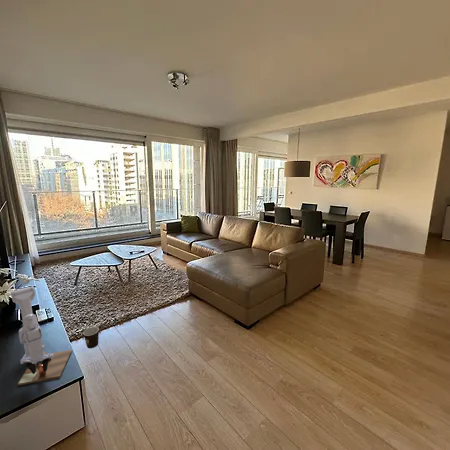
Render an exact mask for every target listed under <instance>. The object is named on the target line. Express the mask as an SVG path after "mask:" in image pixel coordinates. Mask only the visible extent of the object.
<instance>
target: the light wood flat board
mask: <svg viewBox="0 0 450 450" xmlns="http://www.w3.org/2000/svg"><path fill="white" fill-rule="evenodd" d="M44 353H49V352H48V351H44ZM53 353H54V358H53V359H50V360H49V362H48V366H47V371H46V374H45V375H43V376H40V375H39V370H38V366H39V365H36V363H35V366H36V372H35V374H33V373H32V372H31V370H30V369H28V368H27V367H26V370H25V372H23V375H22V376H21V377H20V379H19V380H18V382H17V386H23V385H28V384H33V383H38V382H45V381H49V380H57V379H59V378H61V377H62V374H63V373H64V371H65V369H66V366H67V364H68V362H69V360H70V357H71V354H73V349H69V350H68V349H67V350H62V351H57V352H53Z"/></svg>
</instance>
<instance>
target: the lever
mask: <svg viewBox="0 0 450 450" xmlns="http://www.w3.org/2000/svg"><path fill="white" fill-rule="evenodd" d="M50 359H51V358H50ZM50 359H49V360H50ZM42 361H43V360H41V361H38V362H37V363H36V365H39V366H38V370H39V375H40V376H43V375H45V374H46V372H44V369H43V366H42V364H41V363H42Z"/></svg>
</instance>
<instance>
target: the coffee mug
mask: <svg viewBox="0 0 450 450" xmlns="http://www.w3.org/2000/svg"><path fill="white" fill-rule="evenodd" d="M99 332H100V328H99V327H98V326H91V327H88V328H86V329H85V330H82V331H81V333H82V336H83V338H84V341H85V345H86V347H87V348H88V349H94V348H96V347H98V345H99V336H100V335H99Z"/></svg>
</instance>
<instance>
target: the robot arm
mask: <svg viewBox="0 0 450 450" xmlns="http://www.w3.org/2000/svg"><path fill="white" fill-rule="evenodd" d="M10 294H11V300H12V302H13V303H15V305H19V307H20V314H21V318H22V324H23V327H21V328H19V330H18V339H19V342H20V344H23V348H24V353H25V354H24V355H23V356H22V358H21V359H20V360H19V361H20V365H23V364H25V363H26V364H25V365H24V366H25V368H26V369H27V368H28V369H30V370H31V372H32V373H33V374H35V372H36V366H35V363H37V362H38V361H41V360H43V361H42V363H41V364H42V366H43V369H44V372H46V371H47V366H48V362H49V359H50V358H51V359H53V358H54V353H55V352H48V353H44V352H45V351H44V348H45V346H46V345H45V344H43V343H44V342H43V339H42V337H43V333H42V329H41V326H40V324H39V323H38V318H37V315H36V314H34V313H33V308H32V301H33V300H34V299H35V297H36V291H35V288H34V286H33V285H32V286H28V287H24V288H20V289H19V288H18V289H15V290H12V291H11V292H10Z"/></svg>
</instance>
